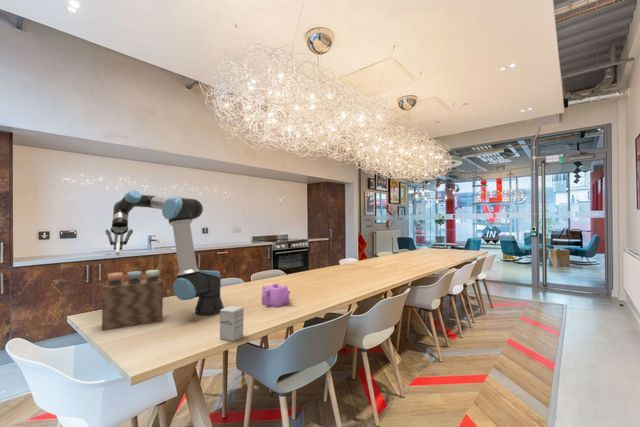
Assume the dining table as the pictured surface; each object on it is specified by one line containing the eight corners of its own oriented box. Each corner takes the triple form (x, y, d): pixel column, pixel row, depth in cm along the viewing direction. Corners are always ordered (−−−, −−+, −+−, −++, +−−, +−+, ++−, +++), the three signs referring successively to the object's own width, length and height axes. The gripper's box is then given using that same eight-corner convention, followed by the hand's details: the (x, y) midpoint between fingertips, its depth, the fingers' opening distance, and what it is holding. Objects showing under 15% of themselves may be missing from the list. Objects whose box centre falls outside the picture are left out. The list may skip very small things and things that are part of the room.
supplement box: (219, 339, 127) (219, 309, 128) (230, 333, 134) (230, 305, 134) (233, 341, 124) (233, 311, 125) (243, 335, 131) (244, 306, 132)
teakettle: (261, 301, 189) (261, 281, 190) (288, 299, 192) (288, 280, 193) (261, 308, 172) (261, 287, 173) (290, 307, 176) (290, 286, 176)
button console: (101, 330, 138) (102, 284, 139) (104, 324, 147) (105, 280, 147) (162, 321, 151) (162, 278, 152) (161, 315, 160) (161, 275, 160)
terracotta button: (107, 283, 141) (107, 275, 141) (108, 281, 146) (108, 273, 147) (122, 281, 144) (122, 273, 144) (122, 279, 150) (123, 272, 150)
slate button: (127, 281, 145) (127, 273, 146) (127, 279, 151) (127, 271, 151) (141, 280, 148) (141, 272, 149) (141, 278, 154) (141, 270, 154)
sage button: (145, 279, 149) (146, 272, 150) (145, 277, 155) (145, 270, 155) (159, 278, 153) (159, 270, 153) (158, 276, 158) (159, 269, 158)
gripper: (133, 226, 176) (132, 257, 162) (106, 226, 170) (102, 259, 155) (133, 217, 172) (132, 248, 157) (105, 217, 165) (101, 249, 150)
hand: (117, 253), depth 156 cm, fingers closed
